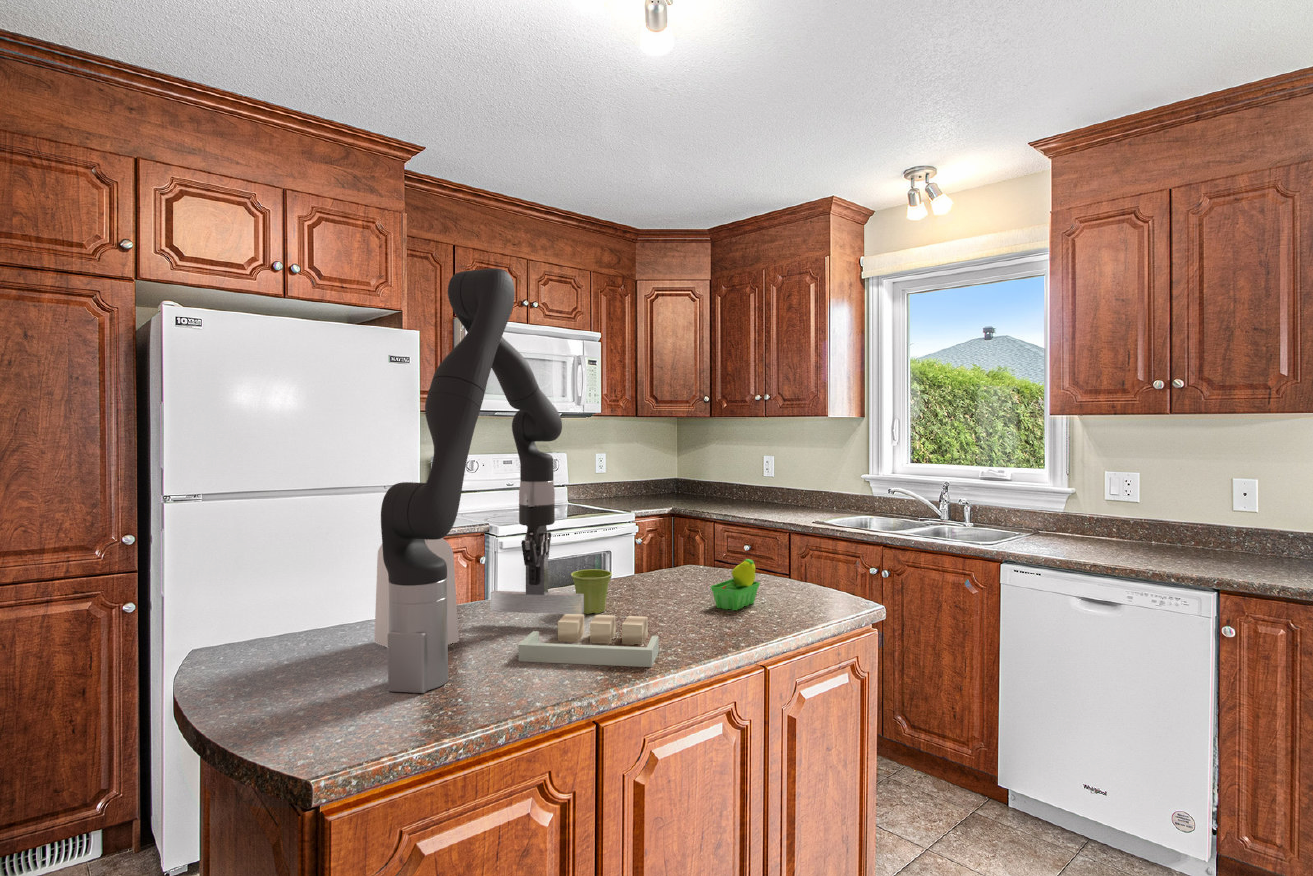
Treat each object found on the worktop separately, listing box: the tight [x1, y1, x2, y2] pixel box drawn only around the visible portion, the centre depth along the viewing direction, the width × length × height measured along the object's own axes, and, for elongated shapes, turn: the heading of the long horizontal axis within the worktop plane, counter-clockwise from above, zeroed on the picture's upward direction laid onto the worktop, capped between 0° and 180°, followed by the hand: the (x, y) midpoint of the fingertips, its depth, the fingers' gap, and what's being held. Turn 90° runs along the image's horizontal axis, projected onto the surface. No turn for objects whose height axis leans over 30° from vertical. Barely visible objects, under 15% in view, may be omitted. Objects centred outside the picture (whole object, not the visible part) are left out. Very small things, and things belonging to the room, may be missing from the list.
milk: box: [373, 537, 460, 649], centre depth 140 cm, size 12×12×26 cm
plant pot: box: [570, 568, 613, 615], centre depth 163 cm, size 9×9×9 cm
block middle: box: [589, 614, 617, 644], centre depth 142 cm, size 6×4×4 cm, turn 173°
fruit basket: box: [710, 558, 761, 611], centre depth 167 cm, size 11×9×11 cm
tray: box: [517, 630, 660, 668], centre depth 131 cm, size 8×24×3 cm, turn 82°
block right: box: [621, 615, 649, 646], centre depth 141 cm, size 6×4×4 cm, turn 171°
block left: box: [557, 613, 585, 643], centre depth 143 cm, size 6×4×4 cm, turn 173°
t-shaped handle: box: [489, 555, 584, 615], centre depth 152 cm, size 3×20×12 cm, turn 82°
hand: (536, 582), depth 152 cm, fingers closed on t-shaped handle, 3 cm apart
